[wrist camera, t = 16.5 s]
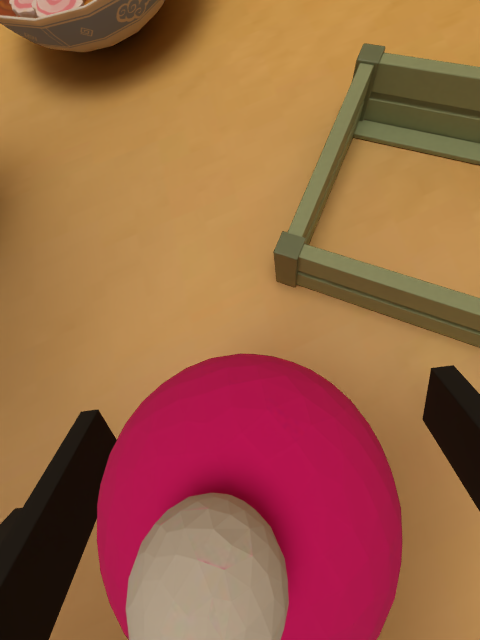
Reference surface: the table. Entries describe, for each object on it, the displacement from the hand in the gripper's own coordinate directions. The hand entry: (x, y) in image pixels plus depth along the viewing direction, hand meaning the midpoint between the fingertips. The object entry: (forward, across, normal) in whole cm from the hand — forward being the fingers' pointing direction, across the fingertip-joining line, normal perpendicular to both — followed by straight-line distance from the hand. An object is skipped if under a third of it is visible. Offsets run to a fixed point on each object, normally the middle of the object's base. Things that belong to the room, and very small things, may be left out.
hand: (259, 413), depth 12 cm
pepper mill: (+6, 0, -8) cm, 10 cm away
